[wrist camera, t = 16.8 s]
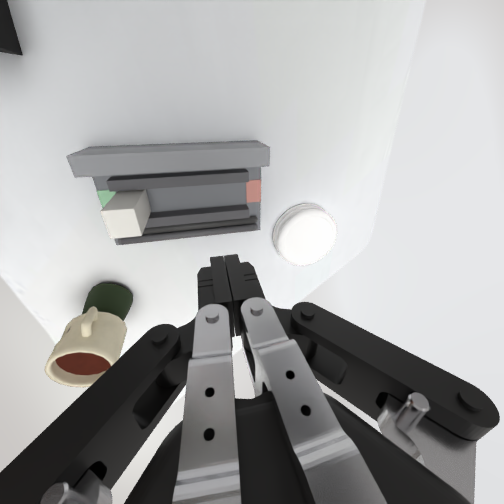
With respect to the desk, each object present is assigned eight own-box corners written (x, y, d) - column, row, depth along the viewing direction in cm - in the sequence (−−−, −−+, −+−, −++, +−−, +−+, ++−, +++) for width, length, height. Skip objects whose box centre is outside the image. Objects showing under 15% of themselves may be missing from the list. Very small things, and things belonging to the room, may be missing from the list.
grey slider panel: (89, 146, 27) (66, 155, 22) (257, 140, 31) (269, 147, 26) (120, 238, 34) (108, 261, 29) (257, 224, 37) (267, 242, 32)
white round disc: (307, 189, 36) (317, 196, 33) (338, 228, 41) (349, 238, 38) (259, 233, 39) (265, 243, 36) (294, 265, 44) (302, 277, 41)
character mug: (84, 265, 35) (36, 338, 24) (137, 270, 37) (115, 338, 26) (88, 319, 40) (50, 399, 29) (135, 320, 42) (116, 394, 31)
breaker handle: (118, 189, 28) (100, 211, 22) (145, 187, 29) (133, 208, 23) (126, 213, 30) (110, 239, 24) (151, 211, 30) (141, 235, 25)
